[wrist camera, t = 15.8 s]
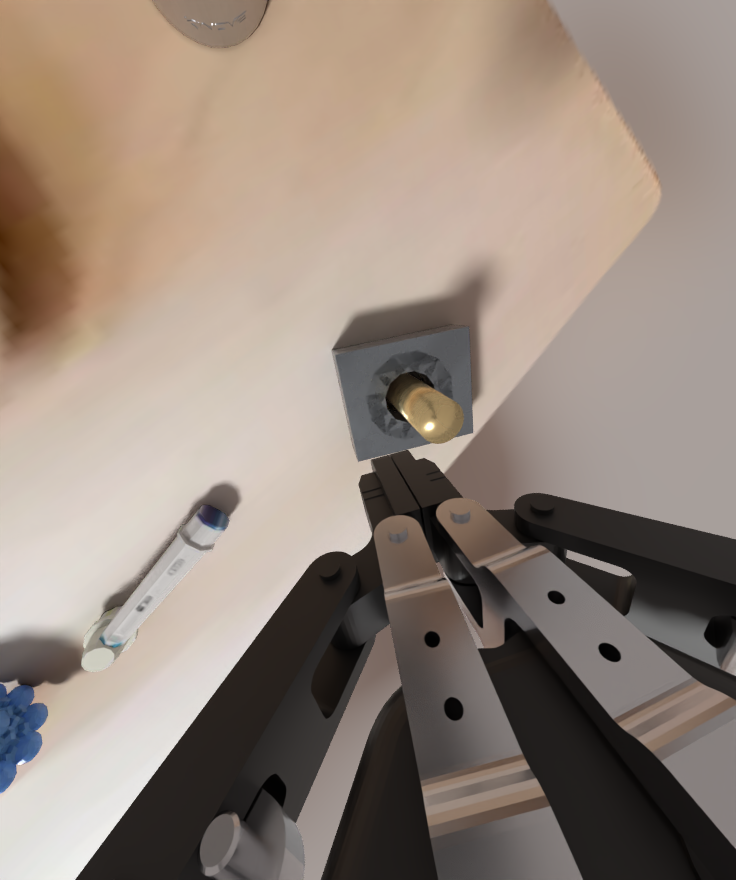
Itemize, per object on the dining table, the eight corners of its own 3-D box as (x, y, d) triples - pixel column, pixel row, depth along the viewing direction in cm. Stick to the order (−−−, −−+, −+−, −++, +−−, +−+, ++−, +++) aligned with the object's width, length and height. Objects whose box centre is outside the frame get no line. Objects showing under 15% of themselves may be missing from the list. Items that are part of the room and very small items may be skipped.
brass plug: (382, 376, 36) (416, 404, 25) (414, 369, 36) (462, 393, 25) (387, 408, 38) (421, 448, 27) (418, 401, 38) (464, 437, 27)
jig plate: (331, 350, 34) (335, 354, 30) (452, 324, 35) (469, 326, 32) (353, 447, 39) (358, 461, 35) (457, 421, 40) (473, 432, 36)
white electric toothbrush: (232, 536, 36) (100, 694, 37) (238, 508, 42) (125, 644, 43) (189, 514, 34) (51, 682, 35) (202, 488, 40) (85, 631, 41)
